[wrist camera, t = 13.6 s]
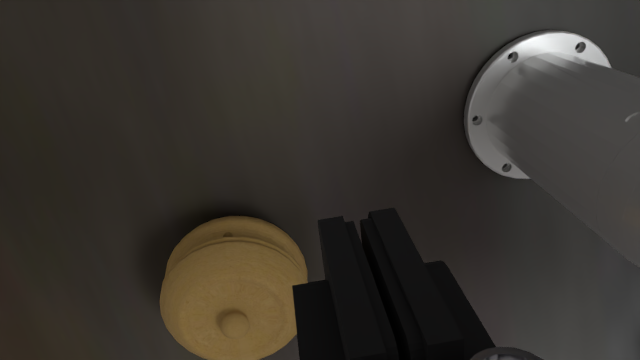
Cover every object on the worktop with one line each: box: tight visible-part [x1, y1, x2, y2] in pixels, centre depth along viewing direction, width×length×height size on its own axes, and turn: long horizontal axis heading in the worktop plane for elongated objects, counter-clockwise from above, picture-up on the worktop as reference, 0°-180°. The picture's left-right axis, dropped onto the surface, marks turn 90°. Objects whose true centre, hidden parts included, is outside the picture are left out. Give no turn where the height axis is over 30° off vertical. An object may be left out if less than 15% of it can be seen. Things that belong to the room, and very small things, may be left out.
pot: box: [160, 216, 308, 360], centre depth 40 cm, size 12×12×10 cm
